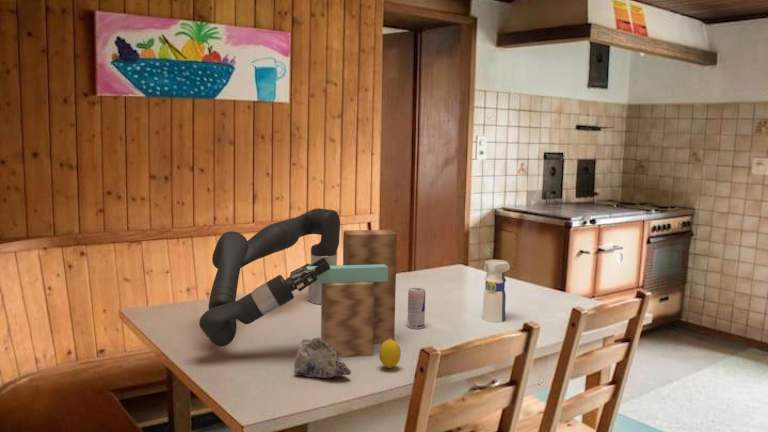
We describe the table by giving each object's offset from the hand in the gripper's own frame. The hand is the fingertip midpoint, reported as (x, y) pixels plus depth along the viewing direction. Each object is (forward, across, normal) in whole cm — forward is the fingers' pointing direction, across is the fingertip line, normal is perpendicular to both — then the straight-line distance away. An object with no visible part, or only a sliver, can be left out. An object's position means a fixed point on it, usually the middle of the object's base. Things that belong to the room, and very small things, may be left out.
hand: (327, 262), depth 178 cm
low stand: (-8, 0, +25) cm, 26 cm away
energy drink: (+14, +19, +38) cm, 45 cm away
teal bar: (+2, 0, +7) cm, 8 cm away
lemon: (0, -15, +29) cm, 33 cm away
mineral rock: (-16, -18, +20) cm, 31 cm away
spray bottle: (+39, +23, +52) cm, 68 cm away
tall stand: (-1, +9, +29) cm, 30 cm away
